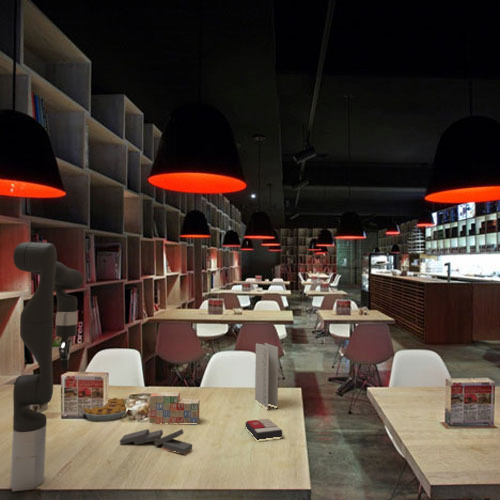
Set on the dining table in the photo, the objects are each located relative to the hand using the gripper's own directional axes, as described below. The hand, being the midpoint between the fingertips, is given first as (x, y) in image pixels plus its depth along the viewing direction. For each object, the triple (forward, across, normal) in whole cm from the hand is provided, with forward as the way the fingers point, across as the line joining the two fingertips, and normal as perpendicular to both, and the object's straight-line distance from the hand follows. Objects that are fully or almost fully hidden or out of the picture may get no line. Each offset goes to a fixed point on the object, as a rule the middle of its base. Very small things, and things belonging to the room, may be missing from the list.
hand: (64, 369), depth 153 cm
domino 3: (+28, -5, -35) cm, 45 cm away
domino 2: (+28, -1, -27) cm, 39 cm away
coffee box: (+29, +45, +20) cm, 57 cm away
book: (+30, -2, -78) cm, 83 cm away
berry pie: (+29, +35, -13) cm, 48 cm away
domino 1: (+28, +1, -22) cm, 36 cm away
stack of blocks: (+29, +18, -43) cm, 55 cm away
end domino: (+29, -7, -38) cm, 48 cm away
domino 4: (+28, -8, -38) cm, 48 cm away
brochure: (+29, +31, -89) cm, 99 cm away
